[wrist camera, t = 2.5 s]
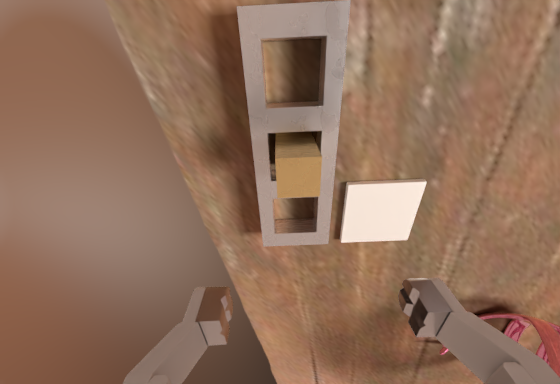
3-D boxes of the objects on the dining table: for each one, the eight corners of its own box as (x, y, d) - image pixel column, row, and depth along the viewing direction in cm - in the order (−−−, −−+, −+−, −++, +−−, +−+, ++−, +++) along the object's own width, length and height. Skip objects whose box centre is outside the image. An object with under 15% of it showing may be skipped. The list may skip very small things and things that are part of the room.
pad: (346, 181, 29) (348, 184, 29) (423, 178, 29) (426, 181, 29) (339, 238, 34) (340, 242, 34) (404, 236, 34) (407, 239, 34)
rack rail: (241, 12, 20) (236, 6, 18) (341, 7, 20) (350, 0, 18) (264, 232, 34) (263, 246, 31) (324, 229, 34) (328, 243, 31)
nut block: (275, 132, 26) (275, 158, 19) (310, 130, 26) (322, 156, 19) (277, 163, 28) (277, 198, 21) (309, 162, 28) (319, 196, 21)
